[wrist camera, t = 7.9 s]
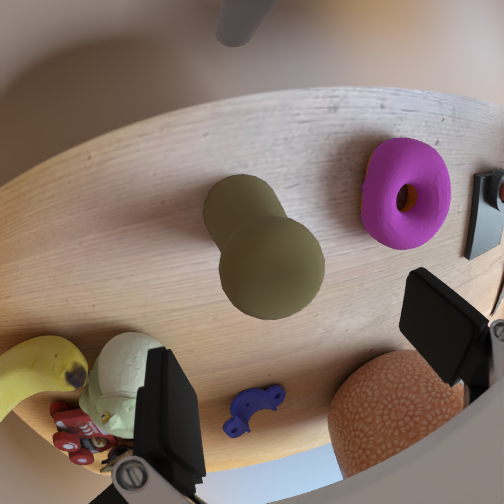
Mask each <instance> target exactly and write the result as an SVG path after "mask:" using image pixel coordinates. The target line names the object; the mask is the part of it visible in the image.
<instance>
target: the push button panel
mask: <svg viewBox="0 0 504 504" xmlns="http://www.w3.org/2000/svg"><path fill="white" fill-rule="evenodd" d="M503 184H504V170H502V169H496V170H495V171H493V172H487V173H481V174H475V175H474V187H473V199H472V209H471V218H470V225H469V232H468V238H467V244H466V249H465V255H464V257H465V258H466V259H468V260H469V261H470V260H471V259H473V258H475V257H477V256H479V255H481V254H483V253H485V252H487V251H488V250H490V249H492V248H494V247H496V246H497V245H499V244H500V242H501V237H502V232H503V227H504V201H502V200H501V189H502V186H503Z"/></svg>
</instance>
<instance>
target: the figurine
mask: <svg viewBox="0 0 504 504" xmlns="http://www.w3.org/2000/svg"><path fill="white" fill-rule="evenodd" d="M161 346H162V344H161V343H159V342H158V341H157V340H156V339H154V338H152V337H150V336H149V335H147V334H143V333H138V332H126V333H122V334H119V335H117V336H115V337H113V338H112V339H111V340H110V341H108V342H107V344H106V345H105V346H104V347H103V349H102V351H101V353H100V355H99V356H98V357H97V358H96V360H95V363H94V365H93V368H92V371H89V374H90V375H87V381H86V387H85V388H84V390H83V391H82V394H81V396H80V399H79V406H80V408H81V409H82V410H83V411H84V412H85V413H87V414H89V416H90V417H91V419H92V420H93V422H94V423H95V424H96V425H97V426H98V427H99V428H101V429H102V430H104V431H105V432H107V433H109V434H112V435H115V436H118V437H122V438H133V433H134V418H135V406H136V395H137V390H138V388H139V387H141V386H144V379H145V369H146V360H147V352H148V349H151V348H156V347H161Z"/></svg>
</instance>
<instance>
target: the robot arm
mask: <svg viewBox="0 0 504 504" xmlns="http://www.w3.org/2000/svg"><path fill="white" fill-rule="evenodd" d="M488 323H489V320H488V319H487V318H486V317H485V316H483V315H482V314H481V313H480V312H479V311H478V310H476V309H475V308H474V307H473V306H472V305H471V304H469V303H468V302H467V301H466V300H465V299H463V298H462V297H461V296H460V295H459V294H457V293H456V292H455V291H454V290H452V289H451V288H450V287H449V286H447V285H446V284H445V283H444V282H442V281H441V280H440V279H438V278H437V277H436V276H434V275H433V274H432V273H431V272H429V271H428V270H427V269H425V268H424V267H420V268H417V269H415V270H412V271H410V273H409V275H408V277H407V279H406V287H405V293H404V300H403V306H402V311H401V317H400V322H399V328H400V331H401V333H402V334H403V335H404V336H405V337H406V338H407V339H408V341H409V342H410V343H411V344H412V345H413V346H414V347H415V349H416V350H417V351H418V352H419V353H420V354H421V356H422V357H423V358H424V359H425V360H426V361H427V363H428V364H429V365H430V366H431V367H432V369H433V370H434V371H435V372H436V373H437V375H438V376H439V377H440V378H441V380H442V381H443V382H444V383H448V384H449V386H450V387H451V388H452V387H453V386H454V385H456V384H457V383H458V382H460V380H461V379H462V380H463V382H464V399H463V411H461V412H460V413H459V414H458V415H456V416H455V417H454V418H452V419H451V420H450V421H448V422H447V423H445V424H444V425H443V426H441V427H440V428H438V429H437V430H435V431H434V432H432V433H431V434H429V435H428V436H426V437H425V438H423V439H422V440H420V441H418V442H417V443H415V444H413V445H412V446H410V447H408V448H407V449H405V450H403V451H402V452H400V453H398V454H396V455H394V456H392V457H391V458H389V459H387V460H385V461H383V462H381V463H379V464H377V465H375V466H373V467H371V468H369V469H366V470H364V471H362V472H360V473H358V474H355V475H353V476H351V477H348V478H346V479H343V480H341V481H338V482H336V483H333V484H330V485H328V486H325V487H322V488H319V489H317V490H313V491H310V492H307V493H304V494H301V495H297V496H294V497H291V498H286V499H283V500H279V501H275V502H271V503H267V504H504V320H503V319H498V320H495V321H493V322H492V323H491V325H490V328H489V327H488V326H487V325H488ZM205 476H206V469H205V462H204V454H203V447H202V438H201V430H200V421H199V411H198V400H197V395H196V393H195V391H194V389H193V387H192V386H191V384H190V382H189V381H188V379H187V377H186V375H185V374H184V372H183V370H182V369H181V367H180V365H179V363H178V361H177V360H176V358H175V356H174V354H173V352H172V351H171V349H167V350H166V348H165V347H164V346H161V347H156V348H151V349H148V352H147V360H146V369H145V379H144V386H141V387H139V388H138V390H137V395H136V406H135V418H134V433H133V456H131V455H130V456H125V457H123V458H121V459H119V460H118V461H117V462H116V463H115V464H114V466H113V469H112V473H111V477H112V482H113V483H112V484H111V485H110V486H109V487H107V488H106V489H105V490H104V491H103V492H102V493H101V494H100V495H98V496H97V497H96V498H95V499H94V500H93V501H91V502H90V503H89V504H207V503H206V502H204V501H203V500H202V499H200V498H199V497H198V496H197V495H195V493H196V488H195V484H200V483H203V481H202V477H205Z"/></svg>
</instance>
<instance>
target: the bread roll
mask: <svg viewBox="0 0 504 504" xmlns="http://www.w3.org/2000/svg"><path fill="white" fill-rule="evenodd" d="M130 455H131V456H133V442H130V441H126V442H121V443H119V444H117V445H116V446H114V447H113V448H112V449H111V451H110V452H109V453H108V459H106V460H103V461H102V463H101V464H106V463H107V465H106V466H105V467H103V468H102V469H101V470H100V472H101V473H102V472H106V471H112V469H113V466H114V464H115V463H116V462H117V461H118V460H119V459H121V458H123V457H125V456H130Z"/></svg>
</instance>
